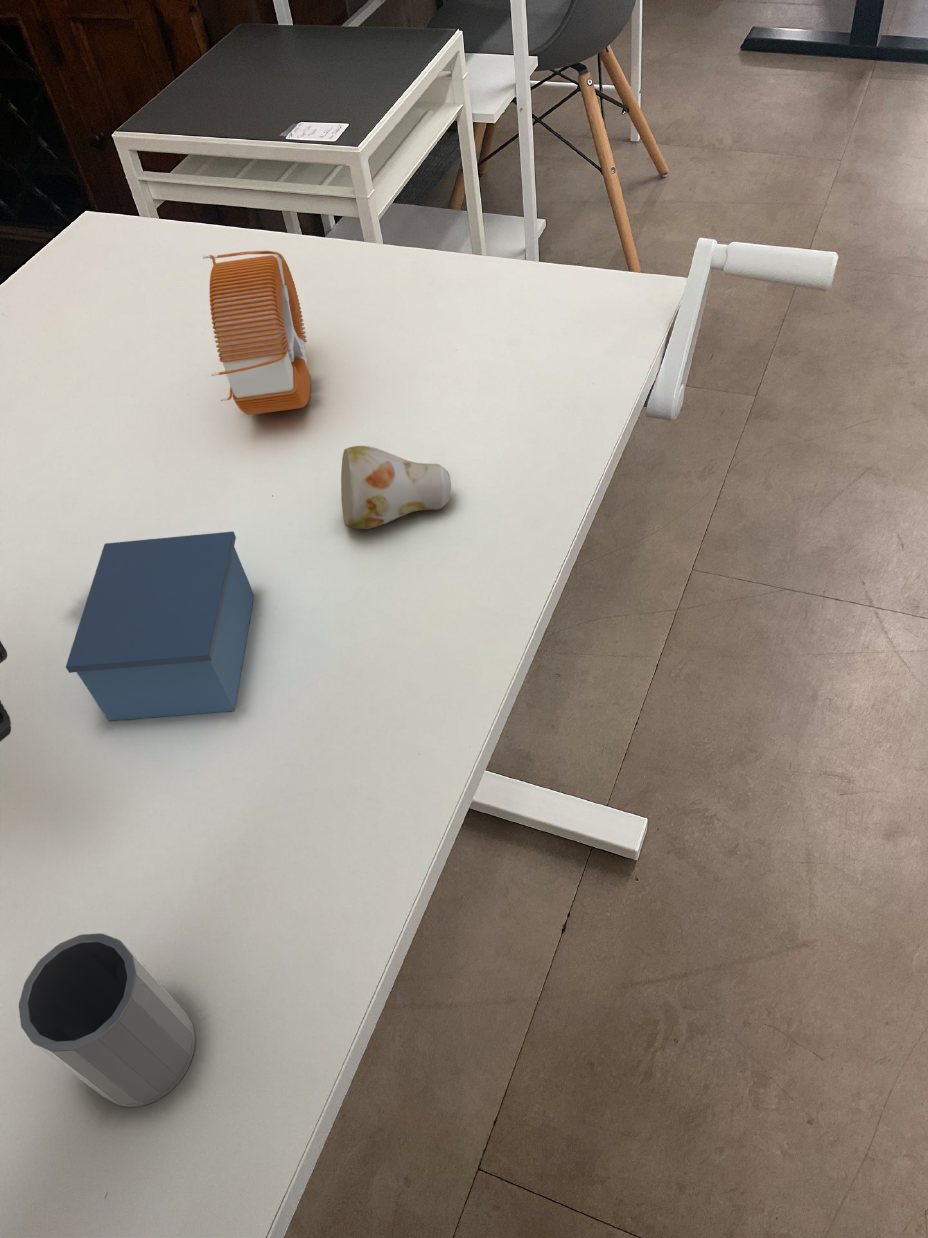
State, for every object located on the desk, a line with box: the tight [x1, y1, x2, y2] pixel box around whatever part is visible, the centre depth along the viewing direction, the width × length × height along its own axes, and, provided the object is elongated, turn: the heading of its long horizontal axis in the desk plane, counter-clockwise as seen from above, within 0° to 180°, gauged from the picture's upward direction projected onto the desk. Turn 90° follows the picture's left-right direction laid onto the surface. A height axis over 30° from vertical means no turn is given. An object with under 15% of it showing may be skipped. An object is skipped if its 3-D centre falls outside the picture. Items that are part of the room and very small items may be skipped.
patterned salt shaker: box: [340, 445, 452, 530], centre depth 87 cm, size 8×10×10 cm
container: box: [65, 531, 255, 722], centre depth 79 cm, size 13×11×7 cm
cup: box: [18, 932, 196, 1108], centre depth 57 cm, size 6×6×10 cm
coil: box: [202, 250, 311, 416], centre depth 97 cm, size 7×15×15 cm, turn 4°
